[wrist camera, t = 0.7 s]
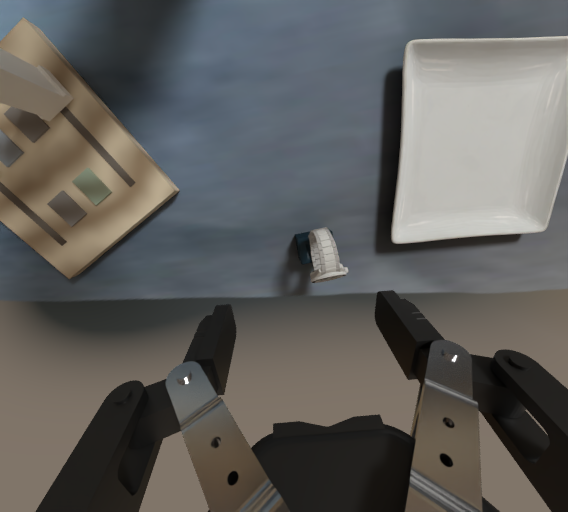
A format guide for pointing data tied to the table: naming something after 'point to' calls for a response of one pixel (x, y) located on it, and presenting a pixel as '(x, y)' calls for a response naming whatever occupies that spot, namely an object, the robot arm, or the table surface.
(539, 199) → the square plate
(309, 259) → the watch
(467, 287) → the table surface
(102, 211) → the switch board
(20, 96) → the tall beige block
